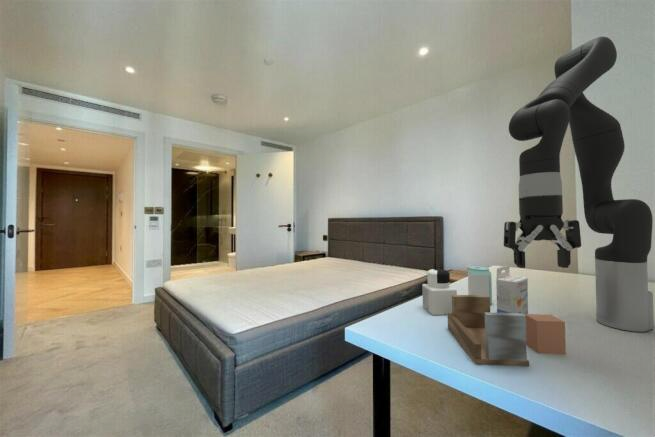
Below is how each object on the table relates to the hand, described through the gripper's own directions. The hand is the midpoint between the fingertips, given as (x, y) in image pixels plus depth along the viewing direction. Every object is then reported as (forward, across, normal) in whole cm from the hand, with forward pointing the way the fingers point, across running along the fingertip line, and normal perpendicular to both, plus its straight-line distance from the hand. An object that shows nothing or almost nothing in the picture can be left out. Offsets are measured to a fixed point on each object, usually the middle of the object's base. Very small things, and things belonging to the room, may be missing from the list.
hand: (541, 267), depth 58 cm
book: (+18, 0, 0) cm, 18 cm away
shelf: (+18, +12, -1) cm, 22 cm away
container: (+18, +16, -23) cm, 33 cm away
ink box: (+18, -3, -18) cm, 26 cm away
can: (+18, 0, -32) cm, 37 cm away
